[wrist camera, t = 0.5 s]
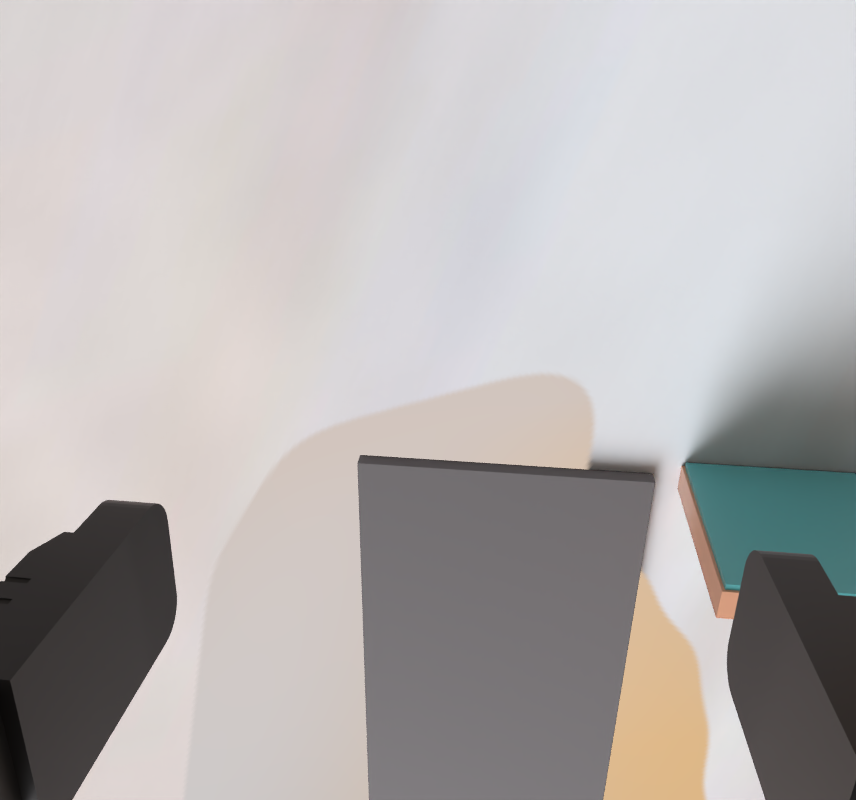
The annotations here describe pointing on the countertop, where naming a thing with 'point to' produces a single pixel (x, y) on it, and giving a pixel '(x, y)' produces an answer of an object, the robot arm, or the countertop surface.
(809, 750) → the robot arm
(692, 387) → the countertop surface
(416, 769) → the mat
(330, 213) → the countertop surface
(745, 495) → the tile
